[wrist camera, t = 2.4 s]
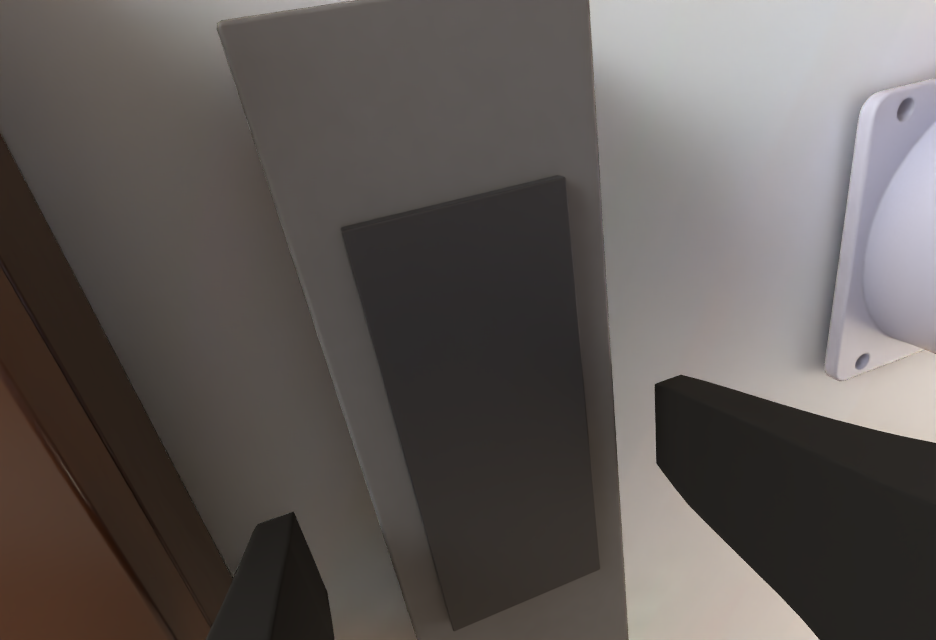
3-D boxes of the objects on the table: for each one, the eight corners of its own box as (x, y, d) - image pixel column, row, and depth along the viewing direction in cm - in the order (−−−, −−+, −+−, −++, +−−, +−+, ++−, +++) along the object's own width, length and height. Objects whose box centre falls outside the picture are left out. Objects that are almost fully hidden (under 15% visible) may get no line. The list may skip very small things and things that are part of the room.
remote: (499, 7, 10) (599, -41, 6) (573, 597, 16) (638, 710, 13) (238, 49, 9) (210, 17, 5) (431, 658, 15) (467, 796, 12)
